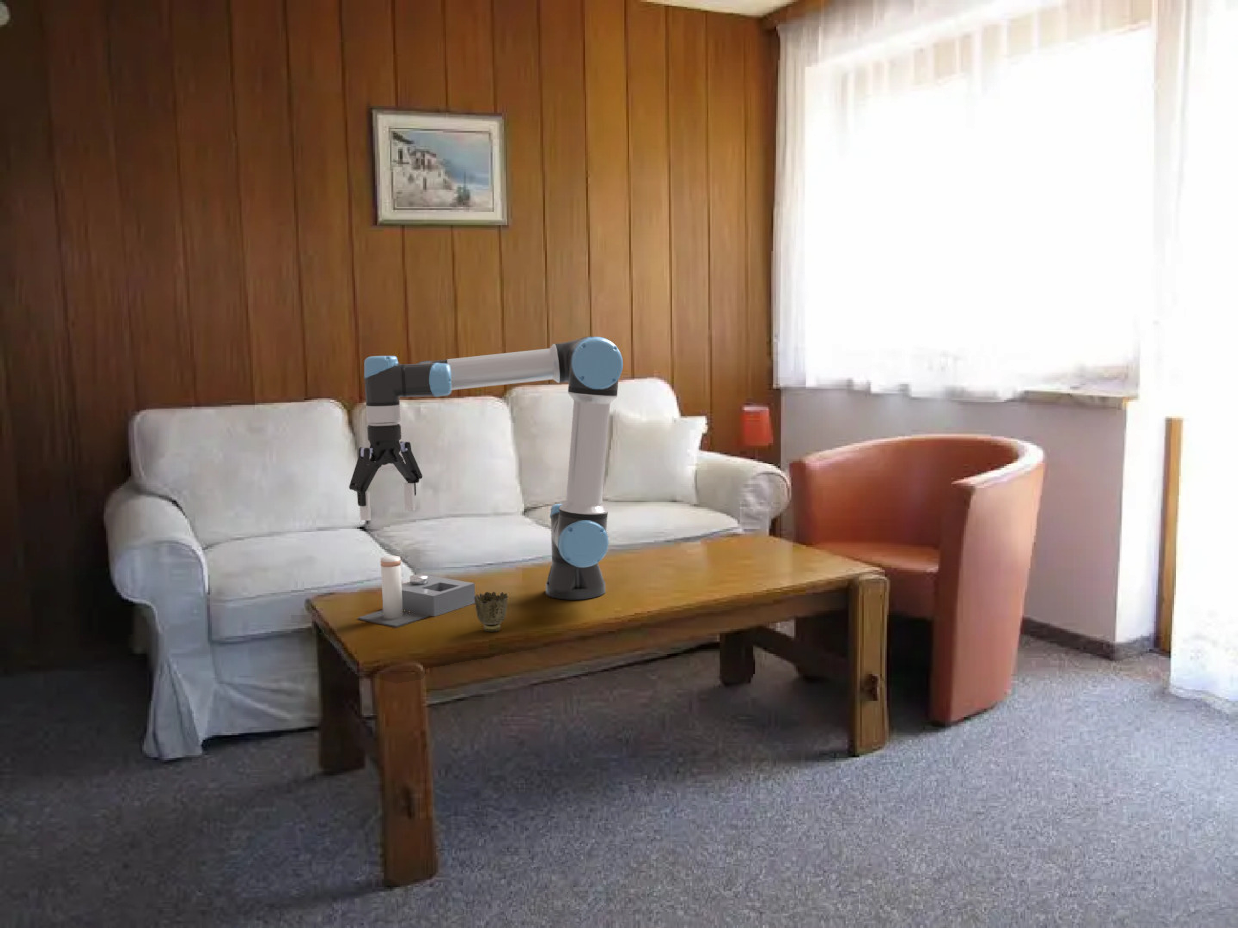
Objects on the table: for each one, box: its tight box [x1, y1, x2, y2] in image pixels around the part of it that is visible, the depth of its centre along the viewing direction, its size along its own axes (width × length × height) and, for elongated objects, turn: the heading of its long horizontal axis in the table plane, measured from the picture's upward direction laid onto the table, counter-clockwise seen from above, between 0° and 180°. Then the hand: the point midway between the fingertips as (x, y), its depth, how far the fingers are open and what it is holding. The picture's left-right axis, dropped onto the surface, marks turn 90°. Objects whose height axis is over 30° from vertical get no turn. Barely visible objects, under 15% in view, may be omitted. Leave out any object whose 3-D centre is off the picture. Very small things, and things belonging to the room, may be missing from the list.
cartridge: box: [380, 555, 403, 619], centre depth 247 cm, size 5×5×14 cm
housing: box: [402, 575, 476, 618], centre depth 258 cm, size 15×14×5 cm
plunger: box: [409, 573, 429, 585], centre depth 260 cm, size 4×4×6 cm
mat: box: [357, 609, 429, 629], centre depth 248 cm, size 13×10×1 cm
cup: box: [474, 591, 509, 633], centre depth 236 cm, size 8×7×8 cm
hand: (388, 515), depth 244 cm, fingers open, 13 cm apart
